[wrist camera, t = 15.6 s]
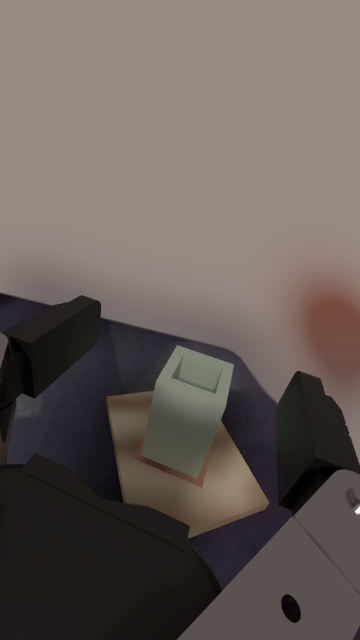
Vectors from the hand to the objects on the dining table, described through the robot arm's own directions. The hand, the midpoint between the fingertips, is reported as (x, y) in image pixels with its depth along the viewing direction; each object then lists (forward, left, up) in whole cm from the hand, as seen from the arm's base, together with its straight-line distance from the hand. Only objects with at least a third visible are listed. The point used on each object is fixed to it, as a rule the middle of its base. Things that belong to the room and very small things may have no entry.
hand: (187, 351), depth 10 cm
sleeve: (-8, +7, -19) cm, 22 cm away
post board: (-9, +7, -20) cm, 23 cm away
